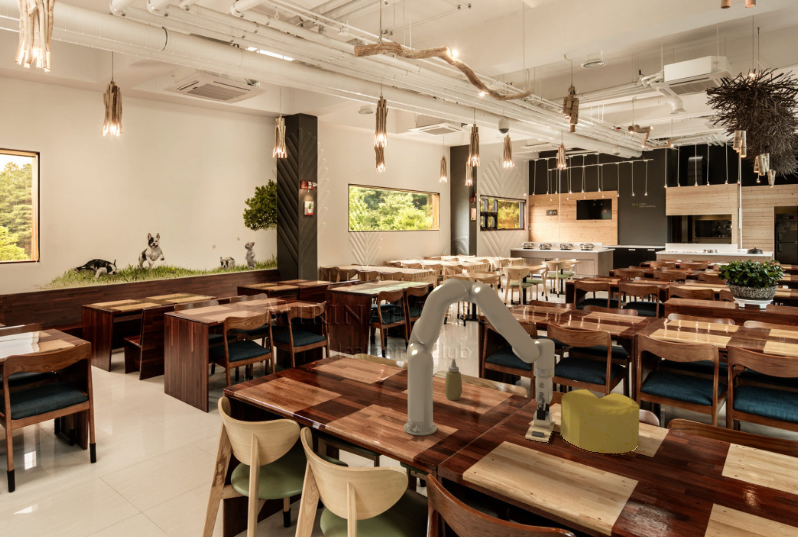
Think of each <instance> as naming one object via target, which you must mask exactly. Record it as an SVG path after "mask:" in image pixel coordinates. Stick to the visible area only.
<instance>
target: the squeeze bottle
mask: <svg viewBox="0 0 798 537" xmlns="http://www.w3.org/2000/svg"><path fill="white" fill-rule="evenodd" d="M447 368H448V371H446V374H445V383H444V384H445V385H444V394H445V397H446V399H447V400H450V401H458V400H460V399H461V396H462V393H463V381H462V373H461V372H460V368H459V366H457V363H456V359H455V358H453V359H452V360H451V364H450V366H448V367H447Z"/></svg>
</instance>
